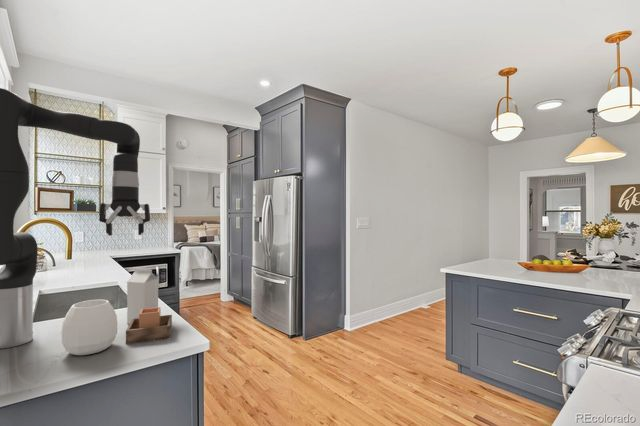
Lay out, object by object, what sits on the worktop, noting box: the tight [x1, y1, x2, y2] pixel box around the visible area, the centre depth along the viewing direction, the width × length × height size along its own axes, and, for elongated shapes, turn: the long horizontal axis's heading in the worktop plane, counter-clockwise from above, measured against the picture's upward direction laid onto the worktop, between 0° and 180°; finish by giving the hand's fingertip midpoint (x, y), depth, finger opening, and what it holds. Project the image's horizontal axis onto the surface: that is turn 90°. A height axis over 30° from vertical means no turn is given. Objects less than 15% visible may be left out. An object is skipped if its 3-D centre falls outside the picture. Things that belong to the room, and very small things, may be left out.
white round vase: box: [61, 299, 118, 356], centre depth 94 cm, size 13×13×14 cm
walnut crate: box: [125, 314, 173, 345], centre depth 106 cm, size 12×12×4 cm
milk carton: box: [126, 268, 159, 325], centre depth 119 cm, size 7×7×19 cm
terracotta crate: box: [139, 306, 162, 329], centre depth 106 cm, size 6×6×7 cm
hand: (125, 235), depth 108 cm, fingers open, 8 cm apart
